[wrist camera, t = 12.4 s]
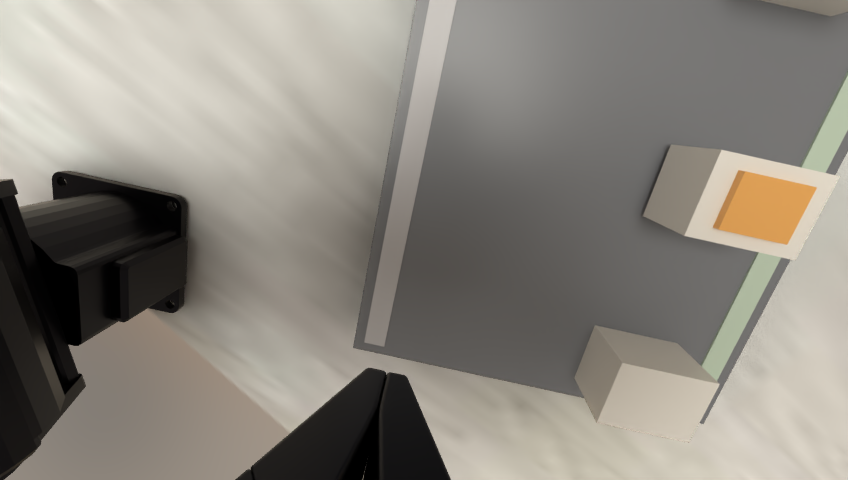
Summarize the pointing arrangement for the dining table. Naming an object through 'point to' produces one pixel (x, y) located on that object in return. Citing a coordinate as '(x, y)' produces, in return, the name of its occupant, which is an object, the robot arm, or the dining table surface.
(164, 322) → the dining table surface
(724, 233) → the switch
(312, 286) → the dining table surface
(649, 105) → the switch panel
